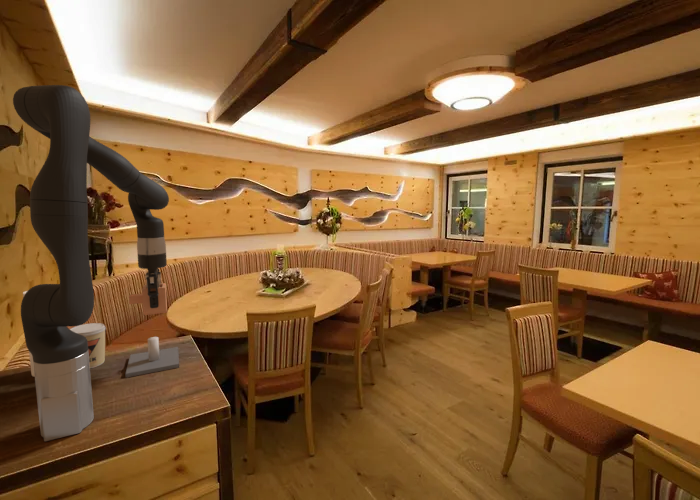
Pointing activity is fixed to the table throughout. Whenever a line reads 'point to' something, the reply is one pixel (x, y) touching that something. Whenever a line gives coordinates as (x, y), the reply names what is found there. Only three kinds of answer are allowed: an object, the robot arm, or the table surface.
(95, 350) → the coffee cup
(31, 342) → the robot arm
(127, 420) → the table surface
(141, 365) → the base
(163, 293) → the orange hollow box
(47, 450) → the table surface
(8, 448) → the table surface
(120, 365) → the table surface
